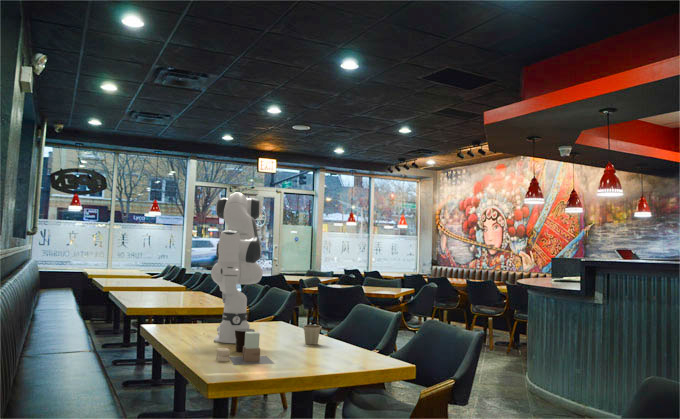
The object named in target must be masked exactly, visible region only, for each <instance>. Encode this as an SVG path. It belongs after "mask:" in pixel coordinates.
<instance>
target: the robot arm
mask: <svg viewBox="0 0 680 419" xmlns="http://www.w3.org/2000/svg"><path fill="white" fill-rule="evenodd" d="M215 213H216V215H217V217H218V218H219V219H223V221H224V222H225V224H226V225H227V226H228V227H227V229H226V230H225V229H224V230H222V231H221V232H220V236H219V240H218V243H216V254H215V255H216V256H217V258H218V259H217V261H216V263H215V264H214V265H212V266H213V267H212V268H211V271H210V276H211V279H212V280H213V282H214V283H216V284H217V285H218V286H219V291H220V292H222V293H221V295H222V296H221V297H222V303H223V312H222V318H221V320H222V322H220V323H219V325H218V326H217V327H216V332H217V335H216V336H215V338H214V340H213V342H216V343H224V344H236V339H235V329H251V328H250V325H251V324H249V322H248V321H247V320H248V312H247V308H248V307H247V305H248V298H247V295H245V293H243V292H242V291H241V290H238V288H237V285H253V284H258V283H260V281H261V279H262V277H263V269H262V267H261V265H260V264H258V263H257V262H258V261H259V260H260V259H261V257H262V254H263V253H262V250H263V249H262V246H261V243H260V240H259V234H258V228H257V224H256V221H255V220H257V219H259V217H260V215H261V213H262V205H261V203H260V200H259V199H257V198H253V197H251V198H250V197H247V196H246V195H245V194H243V193H241V192H233V193H231V194H229V196H228V197H221V198H219V199H218V200H216V205H215Z"/></svg>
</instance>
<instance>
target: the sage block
mask: <svg viewBox="0 0 680 419" xmlns="http://www.w3.org/2000/svg"><path fill="white" fill-rule="evenodd" d="M244 347H245V348H246V349H256V348H260V332H259V331H255V332H245V346H244Z"/></svg>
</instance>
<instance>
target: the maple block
mask: <svg viewBox="0 0 680 419" xmlns="http://www.w3.org/2000/svg"><path fill="white" fill-rule="evenodd" d="M230 352H231V351H230V349H229V348H226V347H225V348H217V349H216V362H230V359H229V357H231V355H230Z"/></svg>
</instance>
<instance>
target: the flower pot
mask: <svg viewBox="0 0 680 419" xmlns="http://www.w3.org/2000/svg"><path fill="white" fill-rule="evenodd" d="M302 328H303V331H304V342H305V345H310V346H312V345H318V344H319V338H320V332H321V329H322V326H321V325H317V324H305V325H302Z"/></svg>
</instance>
